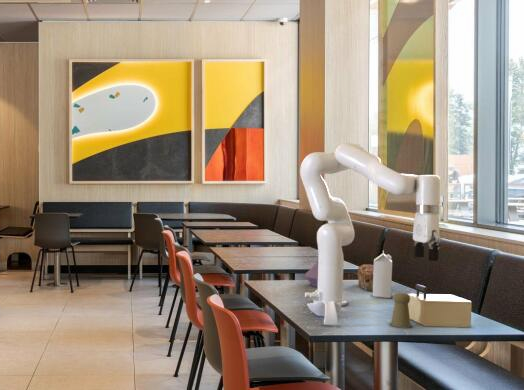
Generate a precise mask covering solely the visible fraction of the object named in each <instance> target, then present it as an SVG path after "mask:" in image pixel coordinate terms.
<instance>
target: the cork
mask: <svg viewBox="0 0 524 390" xmlns="http://www.w3.org/2000/svg"><path fill="white" fill-rule="evenodd" d="M408 294H409V293H406V292H395V293H393V296H392V299H393V303H394V305H393V306H394V307H393V311H392V317H391V322H390V325H391V326H392V327H395V328H402V329H403V328H405V329H407V328H411V319H410V318H409V308H408V304H409V302H410V296H409V295H408Z"/></svg>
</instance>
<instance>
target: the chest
mask: <svg viewBox="0 0 524 390" xmlns="http://www.w3.org/2000/svg"><path fill="white" fill-rule="evenodd" d="M408 308H409V318H410V320H411V321H414V322H416V323H418V324H420V325H422V326H424V327H443V328H444V327H448V328H449V327H450V328H472V308H473V307H472V304H452V303H423V302H420V301H418V300H415V299H413V298H411V297H410V302H409V303H408Z"/></svg>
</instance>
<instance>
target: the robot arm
mask: <svg viewBox="0 0 524 390" xmlns="http://www.w3.org/2000/svg"><path fill="white" fill-rule="evenodd" d="M349 169H350V170H351V171H353V172H356V173H358V174H360V175H361V176H363V177H365V178H366V179H368V181H370V182H372V184H374V185H375V186H377V187H379V188H381V189H382V190H385V191H387V192H389V193H390V194H393V195H396V196H414V195H415V215H414V219H413V220H414V221H413V228H412V229H413V230H412V240H413V245H414V251H413V253H414V255H413V256H414V258H424V256H425V246H424V244H428V246H429V248H428V251H427V253H428V254H427V255H428V256H427V261H429V262H438V261H439V250H440V246H441V241H442V236H441V235H440V217H439V215H440V202H441V199H440V198H441V177H440V176H439V175H435V174H420V175H417V174H410V173H409V174H408V173H399V172H397V171H396V170H394V169H392V168H389V167H388V166H386V165H385V164H383V163H382V161H381V158H380V157H379V156H377V155H375V154H373V153H370V152H369V151H367V150H366V148H365V147H364V146H363V145H361V144H358V143H351V142H344V143H341V144H339V145H338V146H337V147H336V149H335V151H332V152H325V151H324V152H323V151H315V152H311V153H309V154H307V155H306V156H305V158H304V159H303V160H302V162H301V163H300V168H299V174H300V179H301V182H302V185H303V187H304V190H305V194H306V197H307V200H308V203H309V206H310V209H311V212H312V215H313V217H314V218H315V220H317V221H322V222H323V221H324V222H325V221H327V223H324V224H323V225H321V226H320V227H319V228H318V230H317V231H316V243H317V258H318V287H316V288H317V289H315V290H314V291H312V292H308V291H307V292H304V298H309V299H312V303H315V302H319V301H326V302H331V301H334V302H336V303H337V304H339V305H341V307H342V306H346V305H347V300H345V299H343V292H344V290H343V289H344V262H345V261H344V252H343V247H345V246H348V245H350V244H352V242H353V241H354V239H355V235H356V233H355V229H354V228H355V227H354V224H353V222H352V219H351V216H350V214H349V211H348V208H347V205H346V204H345V202H344V201H343V200H342V199H341V198H339V197H336V196H332V195H331V193H330V191H329V187H328V184H327V183H326V181H325V179H324V178H323V176H322V175H323V174H324V175H333V174H337V173H340V172H343V171H346V170H349Z"/></svg>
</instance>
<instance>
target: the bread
mask: <svg viewBox="0 0 524 390" xmlns="http://www.w3.org/2000/svg"><path fill="white" fill-rule="evenodd" d="M373 272H374V264H369V263H367V264H361V265H360V266H359V267H358V270H357V282H358V285H359V286H360V287H361V288H362V289H364V290H365V291H369V292H373Z"/></svg>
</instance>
